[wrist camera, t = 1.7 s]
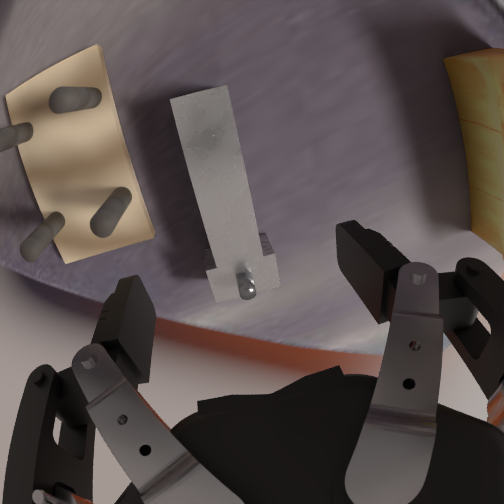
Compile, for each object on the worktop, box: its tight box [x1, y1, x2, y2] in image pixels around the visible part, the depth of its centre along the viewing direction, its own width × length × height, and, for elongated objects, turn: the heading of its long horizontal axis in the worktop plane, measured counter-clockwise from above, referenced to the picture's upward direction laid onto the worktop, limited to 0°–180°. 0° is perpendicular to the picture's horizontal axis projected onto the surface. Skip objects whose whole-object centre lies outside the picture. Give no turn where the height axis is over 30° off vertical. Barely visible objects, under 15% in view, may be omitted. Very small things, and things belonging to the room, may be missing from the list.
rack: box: [0, 44, 155, 264], centre depth 18 cm, size 18×10×7 cm, turn 11°
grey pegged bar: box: [170, 85, 281, 303], centre depth 23 cm, size 18×6×6 cm, turn 11°
